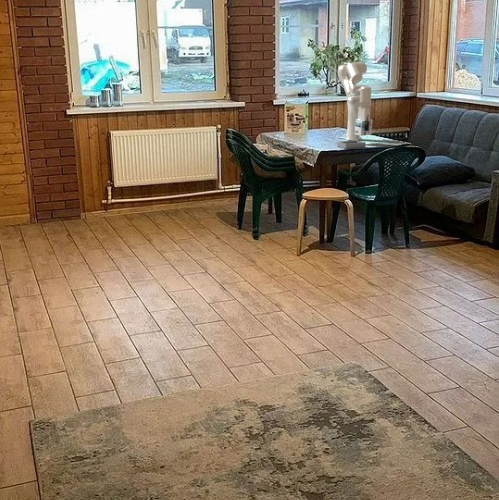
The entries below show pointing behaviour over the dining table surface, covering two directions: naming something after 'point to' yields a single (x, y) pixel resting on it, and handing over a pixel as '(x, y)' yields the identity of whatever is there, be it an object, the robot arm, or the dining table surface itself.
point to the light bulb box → (362, 128)
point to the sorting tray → (351, 144)
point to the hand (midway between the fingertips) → (363, 129)
